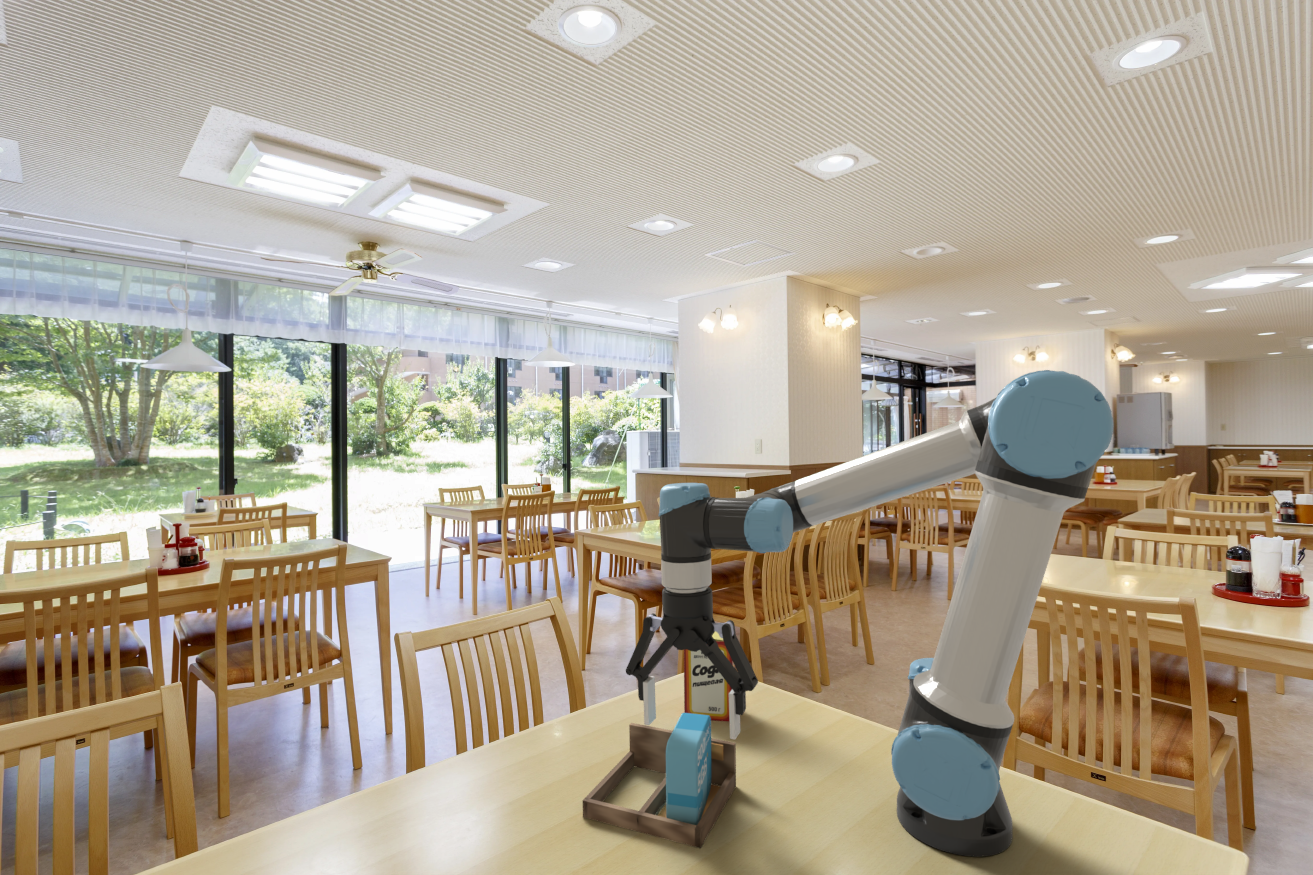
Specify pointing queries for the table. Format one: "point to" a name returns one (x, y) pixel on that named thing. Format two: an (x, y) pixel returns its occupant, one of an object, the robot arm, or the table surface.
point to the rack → (662, 789)
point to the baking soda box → (706, 684)
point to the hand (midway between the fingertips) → (691, 728)
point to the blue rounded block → (688, 768)
